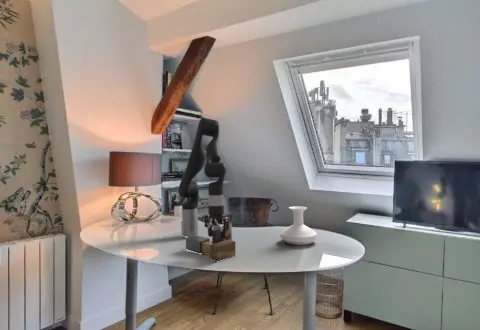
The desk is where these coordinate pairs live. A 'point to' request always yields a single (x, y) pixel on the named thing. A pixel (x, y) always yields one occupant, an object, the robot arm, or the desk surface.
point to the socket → (222, 250)
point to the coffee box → (228, 232)
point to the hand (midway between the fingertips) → (216, 237)
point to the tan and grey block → (215, 239)
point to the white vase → (298, 229)
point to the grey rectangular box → (195, 243)
